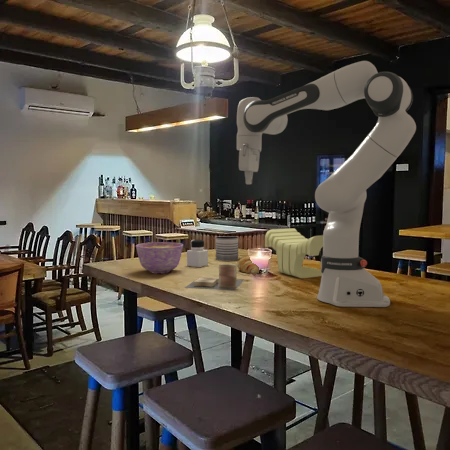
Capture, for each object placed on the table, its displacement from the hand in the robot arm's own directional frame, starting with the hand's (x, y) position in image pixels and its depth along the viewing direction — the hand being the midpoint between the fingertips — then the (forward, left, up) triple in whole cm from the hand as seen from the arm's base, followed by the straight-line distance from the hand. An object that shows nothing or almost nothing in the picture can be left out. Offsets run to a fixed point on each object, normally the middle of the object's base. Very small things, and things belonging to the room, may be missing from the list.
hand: (248, 184), depth 166 cm
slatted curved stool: (-17, -29, -37) cm, 50 cm away
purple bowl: (+42, -21, -37) cm, 60 cm away
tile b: (+6, +5, -36) cm, 37 cm away
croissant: (+5, -32, -38) cm, 50 cm away
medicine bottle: (+31, -40, -37) cm, 63 cm away
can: (+22, -62, -37) cm, 76 cm away
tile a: (+15, -1, -35) cm, 38 cm away
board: (+12, +1, -37) cm, 39 cm away
